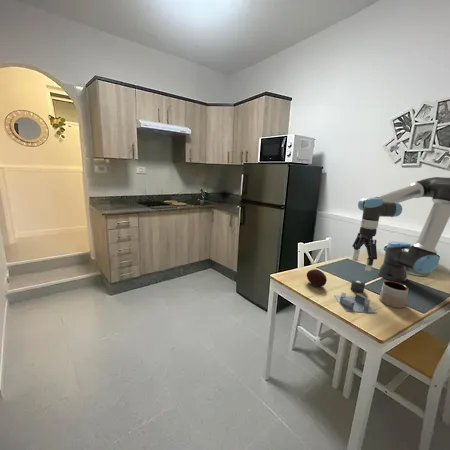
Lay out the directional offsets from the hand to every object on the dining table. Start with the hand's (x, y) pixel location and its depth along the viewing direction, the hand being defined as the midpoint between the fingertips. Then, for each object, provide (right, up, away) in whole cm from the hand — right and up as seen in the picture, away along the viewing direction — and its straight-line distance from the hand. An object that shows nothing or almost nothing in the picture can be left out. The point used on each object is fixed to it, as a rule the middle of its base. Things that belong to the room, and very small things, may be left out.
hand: (361, 265), depth 129 cm
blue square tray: (-10, -17, -11) cm, 23 cm away
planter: (+11, -18, -8) cm, 22 cm away
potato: (-22, -13, +7) cm, 27 cm away
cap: (-1, -14, +3) cm, 15 cm away
